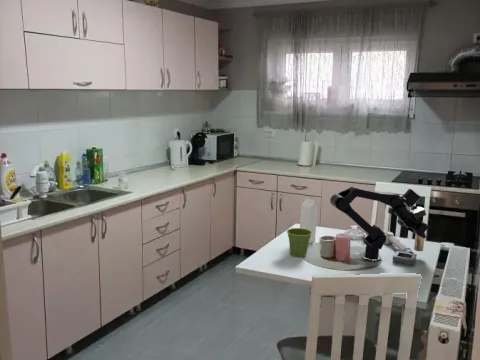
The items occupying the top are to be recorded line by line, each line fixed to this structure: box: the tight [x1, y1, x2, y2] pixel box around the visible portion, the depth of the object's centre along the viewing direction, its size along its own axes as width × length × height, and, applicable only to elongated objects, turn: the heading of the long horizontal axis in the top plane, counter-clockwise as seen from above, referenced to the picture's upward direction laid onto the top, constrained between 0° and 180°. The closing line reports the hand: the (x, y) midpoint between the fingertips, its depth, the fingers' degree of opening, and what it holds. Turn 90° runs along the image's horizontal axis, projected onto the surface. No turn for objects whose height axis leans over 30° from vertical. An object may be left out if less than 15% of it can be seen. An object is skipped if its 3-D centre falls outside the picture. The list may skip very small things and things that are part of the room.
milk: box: [299, 197, 318, 245], centre depth 239 cm, size 6×6×22 cm
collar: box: [392, 250, 418, 267], centre depth 216 cm, size 9×9×3 cm
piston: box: [413, 231, 426, 252], centre depth 221 cm, size 4×4×12 cm
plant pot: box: [286, 227, 312, 258], centre depth 219 cm, size 12×12×11 cm
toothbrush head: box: [384, 231, 415, 254], centre depth 233 cm, size 5×7×25 cm
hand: (422, 236), depth 221 cm, fingers closed on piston, 4 cm apart
